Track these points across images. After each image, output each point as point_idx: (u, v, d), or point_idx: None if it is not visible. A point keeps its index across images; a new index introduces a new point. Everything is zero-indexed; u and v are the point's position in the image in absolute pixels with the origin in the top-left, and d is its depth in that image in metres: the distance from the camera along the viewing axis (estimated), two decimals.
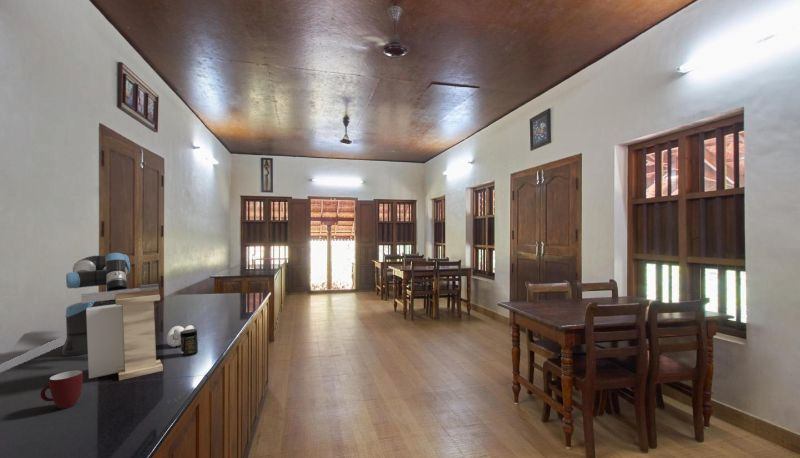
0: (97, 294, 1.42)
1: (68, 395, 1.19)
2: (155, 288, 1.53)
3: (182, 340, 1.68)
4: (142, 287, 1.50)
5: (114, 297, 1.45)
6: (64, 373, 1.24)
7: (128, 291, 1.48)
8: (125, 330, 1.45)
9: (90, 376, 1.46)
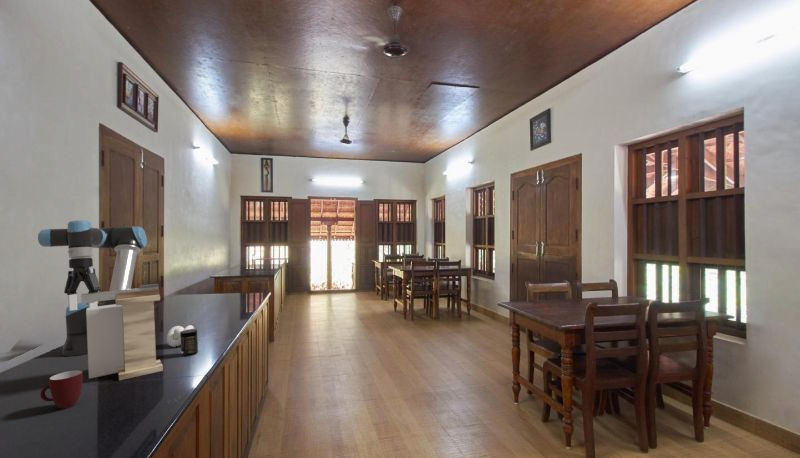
0: (97, 294, 1.42)
1: (68, 395, 1.19)
2: (155, 288, 1.53)
3: (182, 340, 1.68)
4: (142, 287, 1.50)
5: (114, 297, 1.45)
6: (64, 373, 1.24)
7: (128, 291, 1.48)
8: (125, 330, 1.45)
9: (90, 376, 1.46)
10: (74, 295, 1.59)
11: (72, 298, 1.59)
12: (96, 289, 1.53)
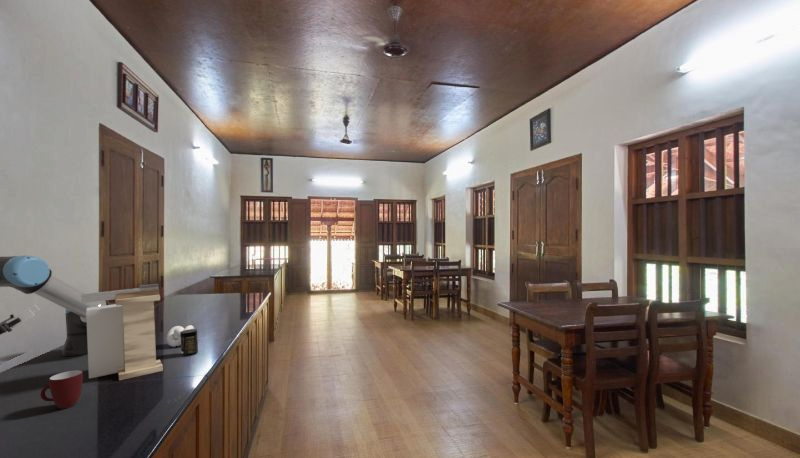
0: (97, 294, 1.42)
1: (68, 395, 1.19)
2: (155, 288, 1.53)
3: (182, 340, 1.68)
4: (142, 287, 1.50)
5: (114, 297, 1.45)
6: (64, 373, 1.24)
7: (128, 291, 1.48)
8: (125, 330, 1.45)
9: (90, 376, 1.46)
10: None
11: None
12: (3, 330, 1.24)
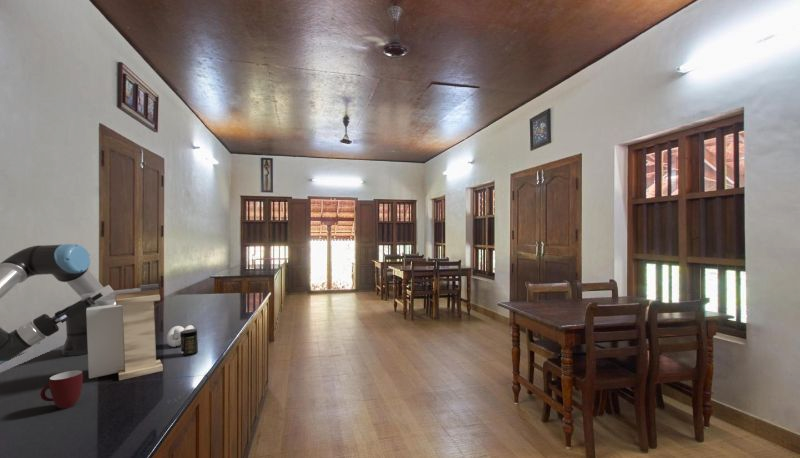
0: None
1: (68, 395, 1.19)
2: (155, 288, 1.53)
3: (182, 340, 1.68)
4: (142, 287, 1.50)
5: (114, 297, 1.45)
6: (64, 373, 1.24)
7: (128, 291, 1.48)
8: (125, 330, 1.45)
9: (90, 376, 1.46)
10: None
11: None
12: (89, 303, 1.37)
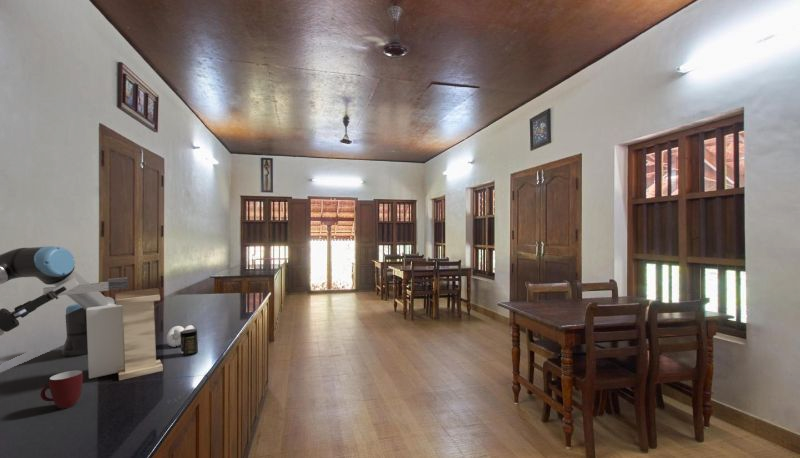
0: None
1: (68, 395, 1.19)
2: (124, 282, 1.47)
3: (182, 340, 1.68)
4: (110, 281, 1.44)
5: (79, 291, 1.39)
6: (64, 373, 1.24)
7: (94, 285, 1.41)
8: (125, 330, 1.45)
9: (90, 376, 1.46)
10: None
11: None
12: (51, 297, 1.31)
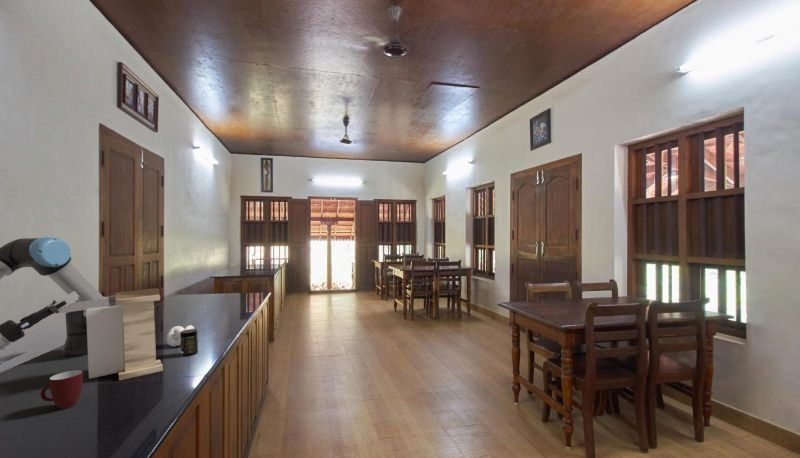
0: None
1: (68, 395, 1.19)
2: None
3: (182, 340, 1.68)
4: (110, 298, 1.52)
5: (81, 308, 1.46)
6: (64, 373, 1.24)
7: (95, 302, 1.49)
8: (125, 330, 1.45)
9: (90, 376, 1.46)
10: None
11: None
12: (52, 311, 1.37)
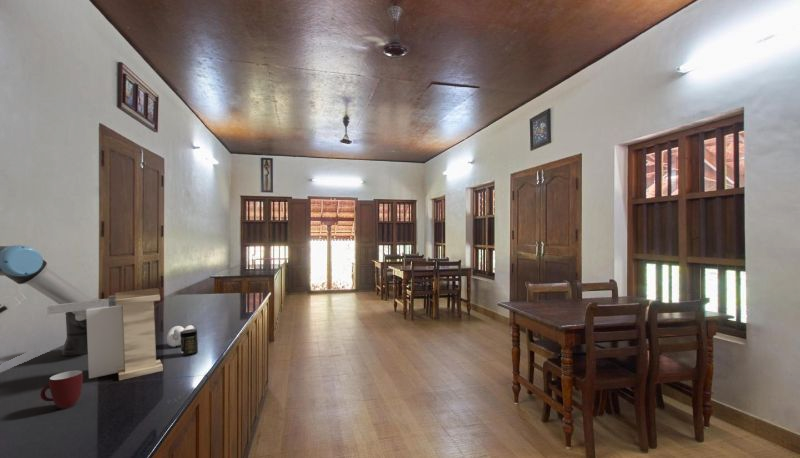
0: (63, 305, 1.43)
1: (68, 395, 1.19)
2: None
3: (182, 340, 1.68)
4: (110, 298, 1.52)
5: (81, 308, 1.46)
6: (64, 373, 1.24)
7: (95, 302, 1.49)
8: (125, 330, 1.45)
9: (90, 376, 1.46)
10: None
11: None
12: None
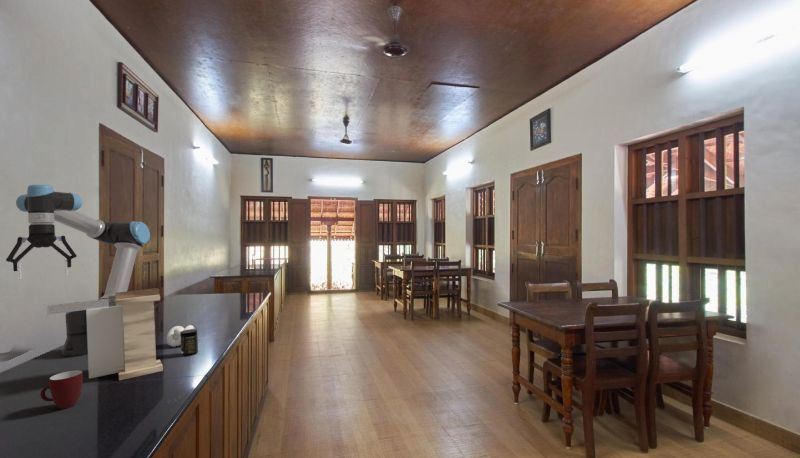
0: (63, 305, 1.43)
1: (68, 395, 1.19)
2: None
3: (182, 340, 1.68)
4: (110, 298, 1.52)
5: (81, 308, 1.46)
6: (64, 373, 1.24)
7: (95, 302, 1.49)
8: (125, 330, 1.45)
9: (90, 376, 1.46)
10: (20, 263, 1.47)
11: (20, 266, 1.47)
12: (76, 256, 1.57)
